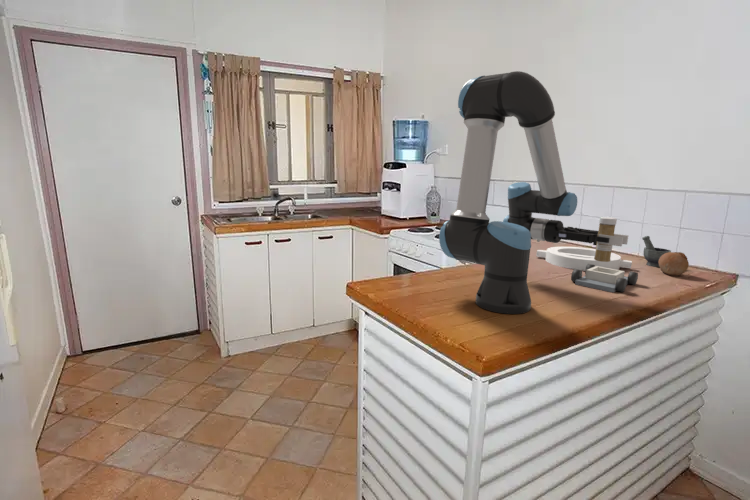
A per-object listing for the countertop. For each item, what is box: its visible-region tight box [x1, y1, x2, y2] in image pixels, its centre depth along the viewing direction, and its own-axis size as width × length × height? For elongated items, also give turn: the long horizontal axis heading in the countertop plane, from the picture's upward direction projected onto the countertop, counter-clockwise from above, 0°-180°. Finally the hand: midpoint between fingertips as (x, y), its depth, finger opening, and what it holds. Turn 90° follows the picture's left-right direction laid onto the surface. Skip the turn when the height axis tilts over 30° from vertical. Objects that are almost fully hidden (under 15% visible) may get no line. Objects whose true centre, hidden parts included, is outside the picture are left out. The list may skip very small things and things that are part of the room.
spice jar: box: [594, 216, 618, 262], centre depth 128 cm, size 5×5×13 cm
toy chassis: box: [570, 264, 639, 293], centre depth 145 cm, size 20×16×4 cm
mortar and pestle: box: [641, 235, 672, 268], centre depth 175 cm, size 11×9×12 cm
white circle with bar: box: [535, 246, 633, 272], centre depth 175 cm, size 28×28×5 cm
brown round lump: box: [658, 251, 690, 277], centre depth 160 cm, size 10×9×10 cm
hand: (624, 240), depth 124 cm, fingers closed on spice jar, 4 cm apart
